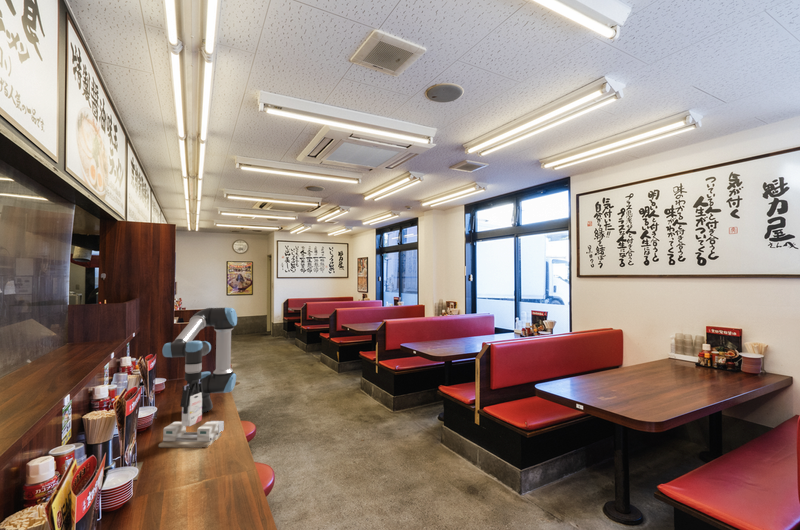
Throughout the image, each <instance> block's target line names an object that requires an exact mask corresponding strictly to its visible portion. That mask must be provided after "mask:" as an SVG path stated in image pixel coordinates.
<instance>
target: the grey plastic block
mask: <svg viewBox="0 0 800 530" xmlns="http://www.w3.org/2000/svg"><path fill="white" fill-rule="evenodd" d="M210 422H219V424H218V433H220V432H221V431H222V432H223V431H224V430H225V429H224V428H225V422H224V420H210ZM222 432H221V433H222Z"/></svg>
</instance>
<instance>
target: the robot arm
mask: <svg viewBox="0 0 800 530" xmlns="http://www.w3.org/2000/svg"><path fill="white" fill-rule="evenodd" d="M237 324H238V314H237V312H236V309H234V308H233V307H207V308H206V307H205V308H203V309H202V310H199V311H198V312H195V313H194V315H192V316H191V318H189V321H188V324H187V325H186V326H185V327H184V328H183V329H182V331H181V332H180V333H179V335H178V336H177V337H176V338H175V339H174V340H173V341H172V342H167V343H164V345H163V347H162V351H161V352H162V356H163V357H164V358H184V359H185V360H184V362H185V363H184V364H185V365H184V372H185V373H184V381H186V385H182V393H181V399H180V400H181V401H180V408H182V407H183V420H189V415H190V406H189V403H190V396H193V395H195V394H198V393H200V392H201V393H202V414H204V412H205V413H208V412H210V411H209V410H211V409H212V408H214V407H213V402H212V399H211V394H227V393H231V392H232V391H234V388H235V387H236V386H235V385H236V382H237V374H236V373H234V369H233V368H232V367H231V365H232V364H231V363H232V362H231V361H232V358H231V357H232V330H234V329H235V326H237ZM205 327H213V330H214V331H215V332H216V334H215V335H216V336H215V337H216V340H215V345H216V346H215V348H216V349H215V370H213V372H212V373H211V371H202V369H203V367H202V365H203V357H204V356H206V355H207V354H209V353H210V352H211V350H212V345H211V343H210V342H208V341H206V340H204V341H201V340H194V339H195V338H196V336H197V335H198V334H199V332H200V331H201V330H203V329H204V328H205ZM195 397H196V398H197V397H198V396H195ZM212 410H213V409H212ZM212 410H211V411H212ZM207 411H208V412H207Z"/></svg>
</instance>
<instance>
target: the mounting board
mask: <svg viewBox="0 0 800 530" xmlns="http://www.w3.org/2000/svg"><path fill="white" fill-rule="evenodd" d="M218 424H219V422H211V421H206V422H205V423H203V424H202V425H200V426H199V427H198V428H197V430H196V431H195V432H193V431H187V426H182V421H173V422H172V423H170V424H169V425H167V426H165V427H163V431H162V432H163V434H162V435H163V436H162V437H163V439H162V442H160V443H159V444H158V448H202V447H207V448H209V447H210V446H211V445H212V444H214V443H215V442H216V441H217V440H218V439H220V437H222V435H223V434H222V432H221V433H218ZM215 440H216V441H215ZM214 441H215V442H214ZM209 445H210V446H209ZM208 446H209V447H208Z"/></svg>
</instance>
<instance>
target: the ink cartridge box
mask: <svg viewBox="0 0 800 530" xmlns="http://www.w3.org/2000/svg"><path fill="white" fill-rule="evenodd" d="M195 396H198V397H197V398H196V397H195ZM189 406H190V415H189V420H183V407H181V422H182V426H186V427H191V426H194V425H196V424H197V423H199V422H201V421H202V419H203V413H202V393H201V392H200V393H198V394H195V395H193V396H190V403H189Z"/></svg>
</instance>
